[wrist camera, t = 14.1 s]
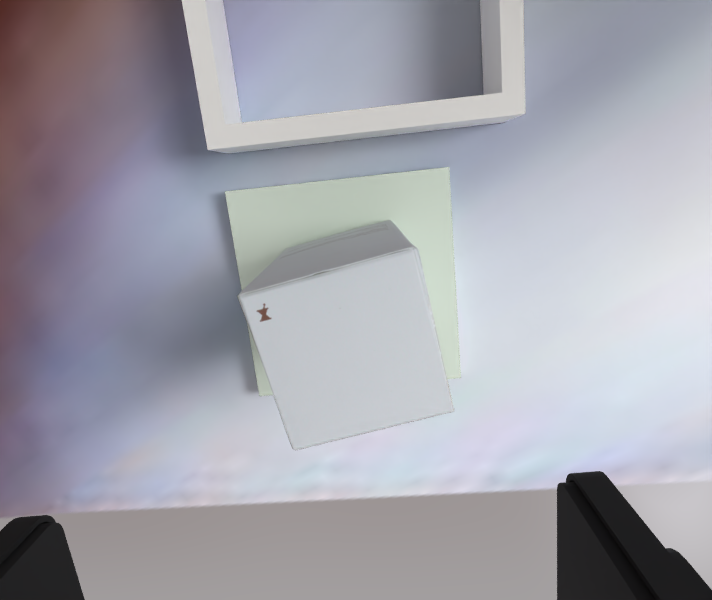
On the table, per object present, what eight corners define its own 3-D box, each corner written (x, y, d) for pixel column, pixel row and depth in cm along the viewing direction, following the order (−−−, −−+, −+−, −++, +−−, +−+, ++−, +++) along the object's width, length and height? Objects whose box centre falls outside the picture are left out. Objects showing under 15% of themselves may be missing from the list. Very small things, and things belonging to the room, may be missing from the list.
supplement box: (315, 351, 32) (286, 456, 20) (283, 246, 31) (230, 290, 18) (422, 325, 32) (458, 417, 19) (395, 216, 30) (417, 241, 18)
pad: (446, 167, 30) (449, 167, 29) (458, 372, 34) (460, 378, 33) (229, 191, 31) (224, 191, 30) (262, 390, 34) (259, 396, 33)
